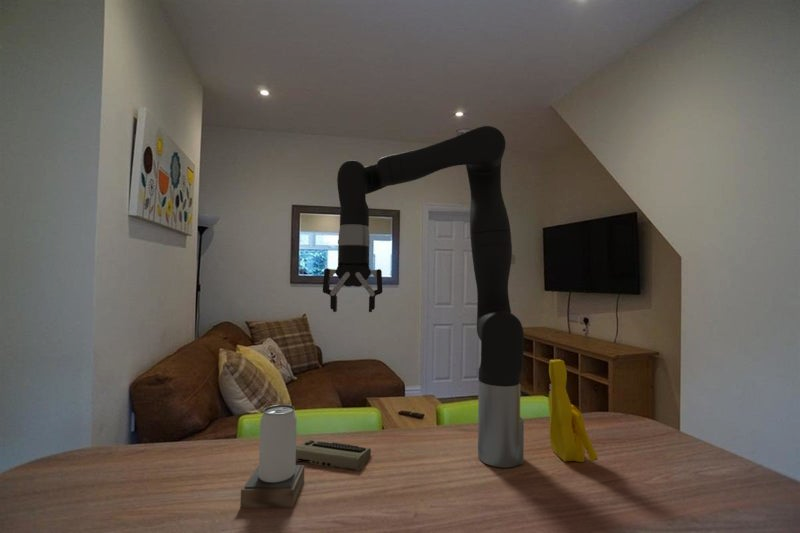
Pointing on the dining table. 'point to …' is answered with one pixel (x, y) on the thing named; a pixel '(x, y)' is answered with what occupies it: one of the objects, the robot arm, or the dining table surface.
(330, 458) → the computer
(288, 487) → the stand
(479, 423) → the robot arm
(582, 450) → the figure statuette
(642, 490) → the dining table surface
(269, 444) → the can
